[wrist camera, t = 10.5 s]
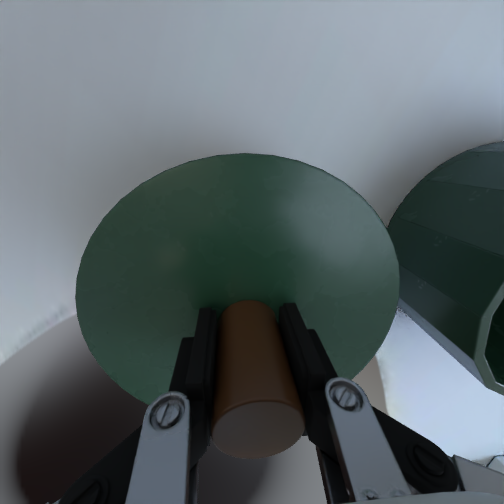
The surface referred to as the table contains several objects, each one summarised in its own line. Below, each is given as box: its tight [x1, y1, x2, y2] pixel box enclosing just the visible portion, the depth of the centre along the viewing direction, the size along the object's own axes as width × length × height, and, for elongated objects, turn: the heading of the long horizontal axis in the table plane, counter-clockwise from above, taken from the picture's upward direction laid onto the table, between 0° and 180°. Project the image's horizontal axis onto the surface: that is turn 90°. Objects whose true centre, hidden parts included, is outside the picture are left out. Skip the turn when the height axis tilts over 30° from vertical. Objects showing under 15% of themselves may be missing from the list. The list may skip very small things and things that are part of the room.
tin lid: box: [75, 153, 400, 459], centre depth 10 cm, size 16×16×6 cm
